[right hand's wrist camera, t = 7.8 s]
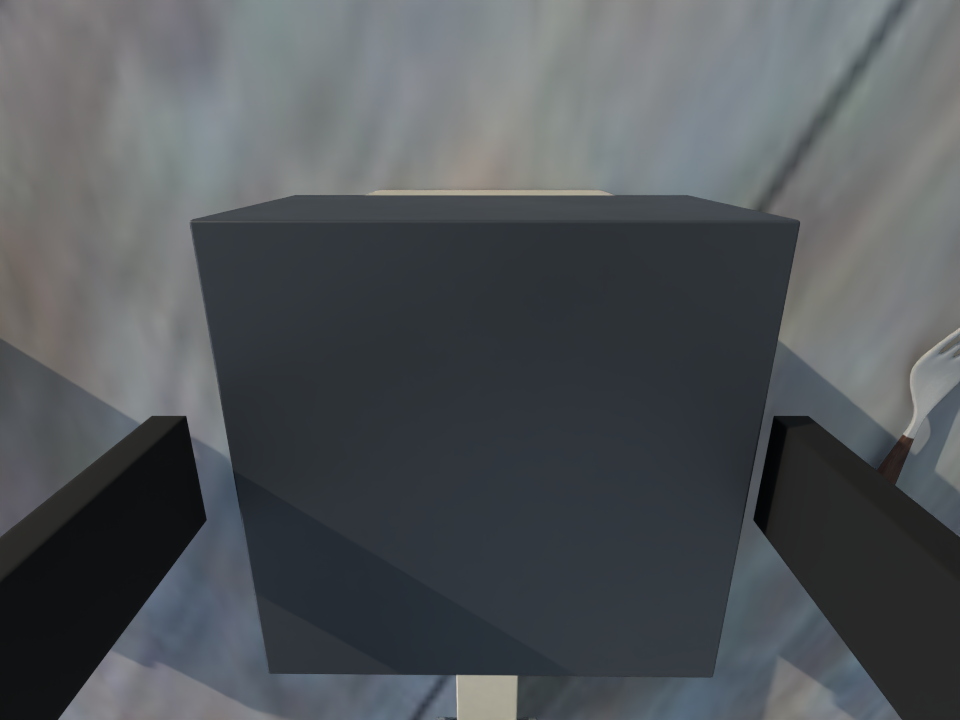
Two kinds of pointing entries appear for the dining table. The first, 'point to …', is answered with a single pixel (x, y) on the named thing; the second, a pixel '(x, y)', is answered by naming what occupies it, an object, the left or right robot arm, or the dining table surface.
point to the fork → (925, 397)
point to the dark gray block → (493, 424)
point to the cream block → (487, 697)
